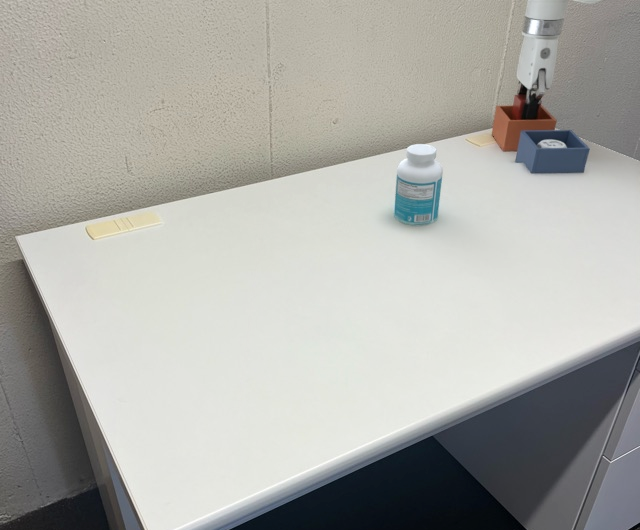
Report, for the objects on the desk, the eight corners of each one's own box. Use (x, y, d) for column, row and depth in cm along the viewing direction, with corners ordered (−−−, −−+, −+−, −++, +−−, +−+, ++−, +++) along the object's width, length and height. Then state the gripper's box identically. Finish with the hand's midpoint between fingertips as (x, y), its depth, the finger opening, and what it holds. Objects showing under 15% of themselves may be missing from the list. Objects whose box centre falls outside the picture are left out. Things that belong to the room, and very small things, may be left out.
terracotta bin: (535, 134, 140) (541, 105, 136) (549, 150, 132) (556, 120, 128) (491, 134, 140) (496, 105, 136) (503, 151, 132) (508, 120, 128)
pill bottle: (412, 210, 109) (419, 136, 101) (445, 224, 105) (455, 149, 97) (384, 224, 105) (388, 148, 97) (417, 239, 101) (425, 161, 93)
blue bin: (563, 160, 127) (571, 129, 123) (581, 181, 119) (590, 148, 115) (515, 161, 127) (521, 130, 123) (529, 181, 119) (536, 149, 115)
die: (530, 163, 125) (535, 139, 122) (554, 162, 125) (559, 138, 122) (539, 173, 121) (545, 148, 118) (564, 172, 121) (570, 147, 118)
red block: (531, 115, 134) (535, 94, 132) (537, 122, 131) (541, 100, 128) (510, 115, 134) (514, 94, 132) (516, 122, 131) (520, 101, 128)
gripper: (576, 36, 115) (554, 131, 126) (547, 18, 128) (530, 105, 139) (536, 36, 115) (518, 131, 126) (512, 18, 128) (497, 106, 139)
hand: (524, 117), depth 132 cm, fingers closed on red block, 4 cm apart
